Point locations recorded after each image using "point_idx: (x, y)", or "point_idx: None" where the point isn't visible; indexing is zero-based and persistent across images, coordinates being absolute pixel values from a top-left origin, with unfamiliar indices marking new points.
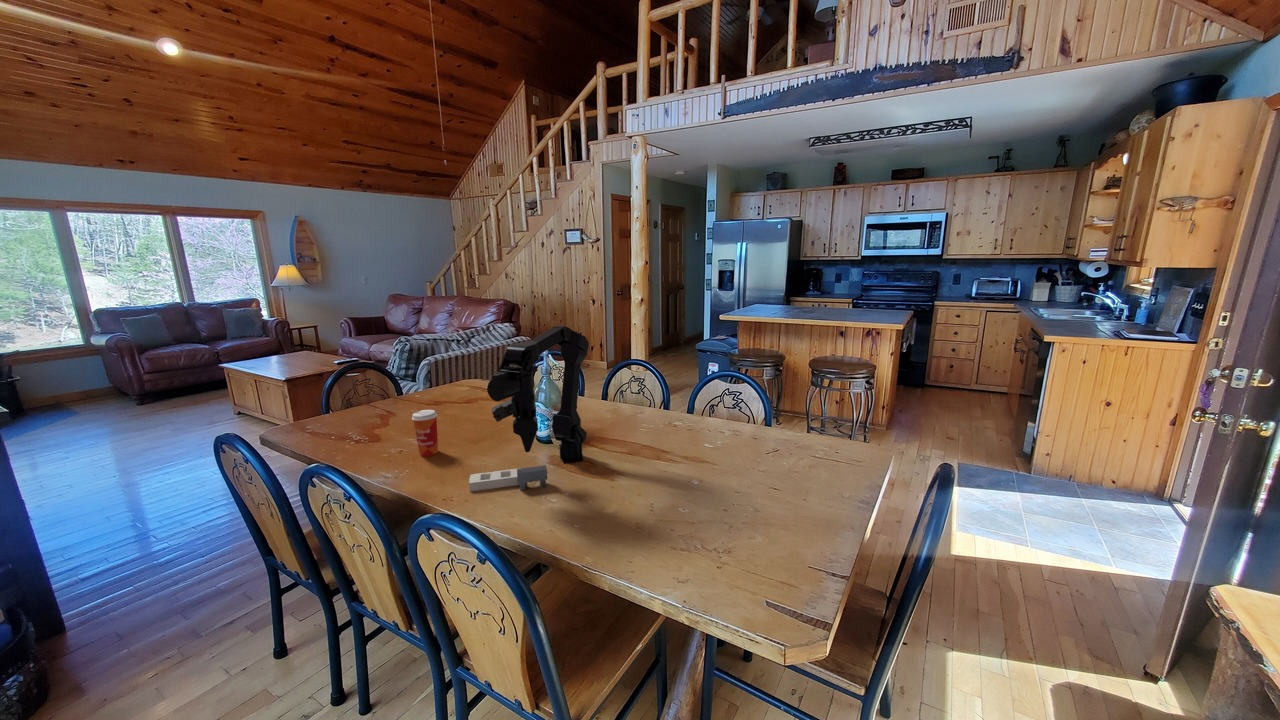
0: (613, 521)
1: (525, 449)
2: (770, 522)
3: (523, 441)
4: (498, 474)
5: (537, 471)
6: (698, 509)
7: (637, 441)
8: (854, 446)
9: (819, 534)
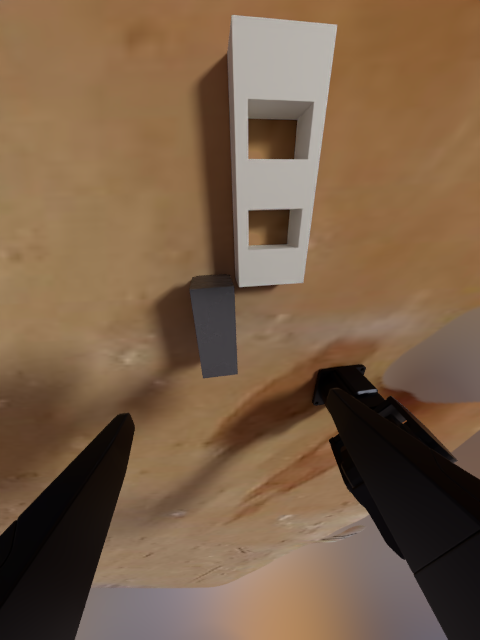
0: (35, 450)
1: (102, 434)
2: None
3: (7, 540)
4: (282, 199)
5: (199, 353)
6: None
7: None
8: (231, 578)
9: None
